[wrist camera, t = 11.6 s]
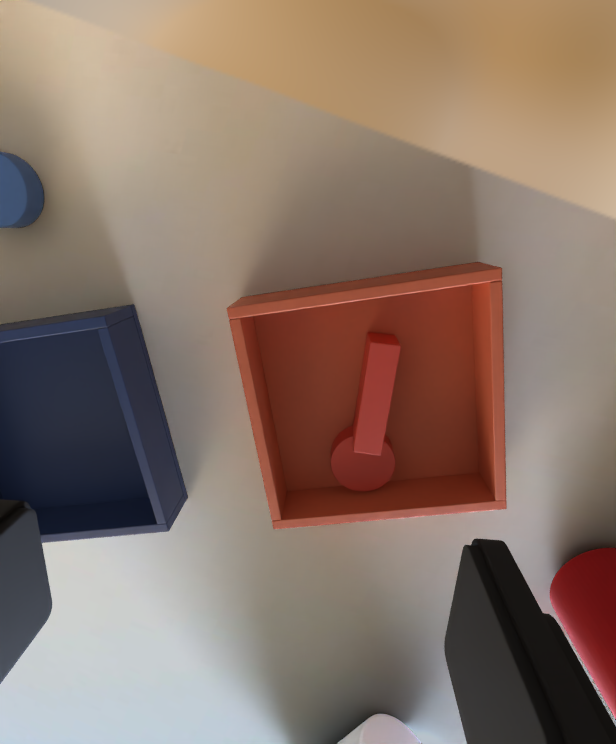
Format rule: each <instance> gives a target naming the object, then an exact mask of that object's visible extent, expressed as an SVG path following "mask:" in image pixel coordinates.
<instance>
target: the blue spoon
mask: <svg viewBox="0 0 616 744" xmlns="http://www.w3.org/2000/svg"><path fill="white" fill-rule="evenodd" d="M43 204H44V193H43V188H42V184H41V182H40V179H39V177H38V175H37V174H36V172H35V171H34V170H33V168H32V167H31V166H30V165H29V164H28V163H27V162H25V161H24V160H23V159H21V158H20V157H18V156H16V155H13V154H10V153H5V152H1V151H0V228H21V227H25V226H28V225H30V224H31V223H33V222H34V221H35V220H36V219H37V218H38V217H39V215H40V213H41V211H42V208H43Z"/></svg>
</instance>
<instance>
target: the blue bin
mask: <svg viewBox="0 0 616 744" xmlns="http://www.w3.org/2000/svg"><path fill="white" fill-rule="evenodd" d="M187 498H188V496H187V493H186V489H185V486H184V482H183V478H182V475H181V471H180V468H179V464H178V460H177V457H176V453H175V449H174V446H173V442H172V439H171V435H170V431H169V428H168V424H167V421H166V417H165V413H164V410H163V406H162V403H161V399H160V395H159V392H158V388H157V385H156V381H155V377H154V374H153V370H152V366H151V363H150V359H149V356H148V352H147V348H146V345H145V341H144V338H143V334H142V330H141V327H140V323H139V320H138V316H137V312H136V309H135V305H134V304H133V305H126V306H120V307H113V308H106V309H100V310H93V311H86V312H80V313H73V314H67V315H60V316H53V317H47V318H40V319H33V320H27V321H20V322H14V323H7V324H0V499H4V500H17V501H25V502H27V503H28V504H29V505H30V507H31V509H34V510H35V512H36V515H37V520H38V526H39V531H40V537H41V542H42V543H45V542H56V541H68V540H79V539H90V538H101V537H112V536H124V535H135V534H146V533H157V532H168V531H169V530H170V528H171V527H172V525H173V523H174V521H175V519H176V518H177V516H178V514H179V512H180V510H181V509H182V507H183V505H184V503H185V501H186V500H187Z"/></svg>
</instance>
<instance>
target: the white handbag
mask: <svg viewBox="0 0 616 744" xmlns="http://www.w3.org/2000/svg"><path fill="white" fill-rule="evenodd" d="M337 744H422V743H421V742H420V740H419V739H418V738H417V736H416V735H415V734H414V733H413V732H412V731H411V730H410V729H409V728H408V727H407V726H406V725H405V724H404V723H402V722H401V721H400V720H398V719H397V718H395V717H393V716H390V715H387V714H375V715H373V716H371V717H369V718H368V719H367V720H366V721H364V722H363V723H362V724H361V725H359V726H358V727H357V728H356V729H354V730H353V731H352V732H351V733H349V734H348V735H347V736H346V737H344V738H343V739H342V740H341V741H339V742H338V743H337Z"/></svg>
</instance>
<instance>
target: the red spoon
mask: <svg viewBox="0 0 616 744" xmlns="http://www.w3.org/2000/svg"><path fill="white" fill-rule="evenodd" d="M400 350H401V345H400V343H399V341H398V339H397V338H396V336H395V335H392V334H384V333H375V332H367V337H366V343H365V350H364V356H363V363H362V369H361V376H360V382H359V389H358V395H357V402H356V408H355V415H354V421H353V426H351V427H348V428H346V429H344V430H343V431H342V432H340V433H339V434H338V435H337V437H336V438H335V439H334V441H333V444H332V447H331V470H332V472H333V475H334V476H335V478H336V479H337V480H338V481H339V482H340V483H341V484H342V485H343V486H345V487H347V488H349V489H351V490H355V491H362V492H363V491H371V490H375V489H377V488H379V487H381V486H383V485H384V484H386V483H387V482H388V481H389V479H390V478H391V476H392V475H393V473H394V470H395V464H396V462H395V455H394V451H393V447H392V444H391V442H390V440H389V438H388V437H387V435H386V434H385V432H386V427H387V421H388V416H389V410H390V405H391V399H392V394H393V388H394V383H395V377H396V372H397V366H398V361H399V355H400Z"/></svg>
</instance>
